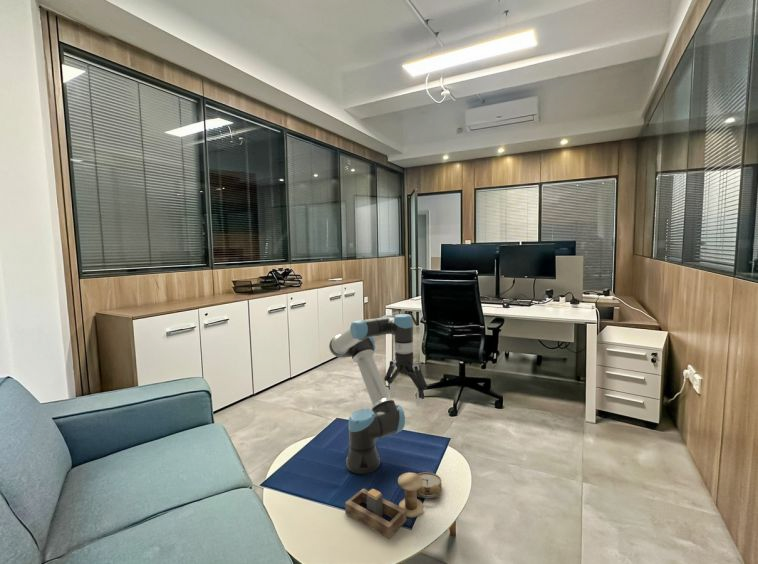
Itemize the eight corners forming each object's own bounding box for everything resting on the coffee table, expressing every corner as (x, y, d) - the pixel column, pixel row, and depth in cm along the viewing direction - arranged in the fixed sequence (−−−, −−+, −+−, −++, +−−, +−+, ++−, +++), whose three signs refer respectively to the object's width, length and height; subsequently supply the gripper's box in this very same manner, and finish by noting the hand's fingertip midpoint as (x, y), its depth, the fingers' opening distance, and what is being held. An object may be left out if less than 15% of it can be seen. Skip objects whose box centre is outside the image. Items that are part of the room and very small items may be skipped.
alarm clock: (440, 472, 149) (442, 489, 134) (441, 485, 148) (442, 503, 134) (413, 471, 150) (412, 488, 136) (413, 483, 150) (412, 501, 135)
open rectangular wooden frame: (345, 513, 131) (345, 502, 131) (363, 498, 139) (363, 488, 139) (389, 538, 119) (388, 527, 118) (406, 520, 126) (406, 509, 126)
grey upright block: (374, 511, 132) (373, 487, 131) (383, 516, 129) (382, 491, 128) (367, 517, 128) (366, 493, 128) (375, 522, 126) (374, 498, 125)
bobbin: (394, 510, 132) (393, 481, 131) (407, 497, 139) (407, 469, 138) (414, 521, 126) (413, 491, 125) (428, 506, 133) (427, 478, 132)
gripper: (375, 349, 154) (376, 397, 156) (425, 358, 139) (426, 411, 141) (385, 345, 160) (387, 391, 162) (435, 353, 145) (436, 404, 146)
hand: (405, 401), depth 151 cm, fingers open, 13 cm apart
